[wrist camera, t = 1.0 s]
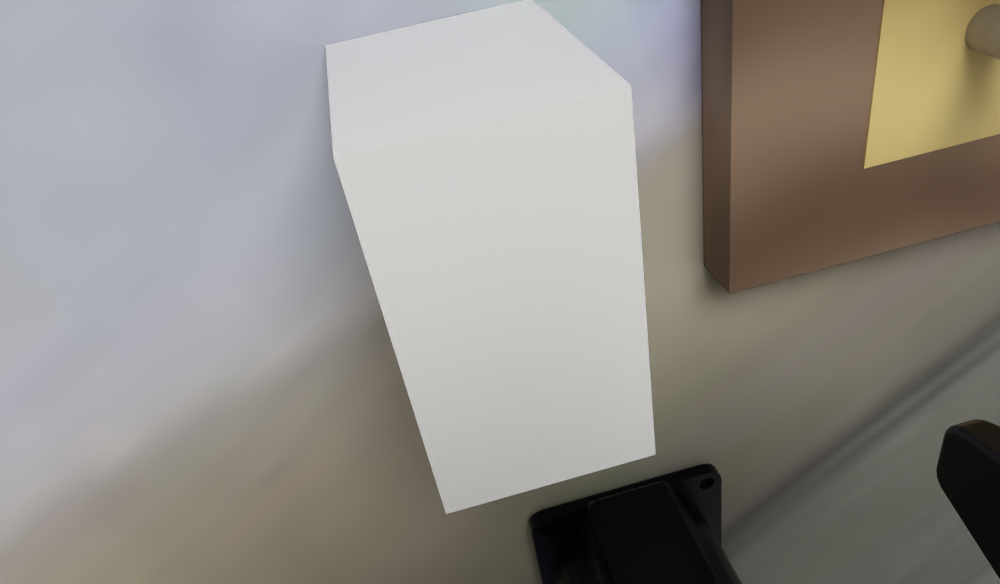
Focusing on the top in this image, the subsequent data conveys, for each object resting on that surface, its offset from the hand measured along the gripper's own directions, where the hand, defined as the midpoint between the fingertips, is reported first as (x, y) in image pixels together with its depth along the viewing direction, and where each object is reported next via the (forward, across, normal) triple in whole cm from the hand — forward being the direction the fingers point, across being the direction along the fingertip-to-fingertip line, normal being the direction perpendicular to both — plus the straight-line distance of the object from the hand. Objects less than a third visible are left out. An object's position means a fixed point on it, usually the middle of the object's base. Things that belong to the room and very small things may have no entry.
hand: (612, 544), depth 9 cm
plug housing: (+10, 0, 0) cm, 11 cm away
